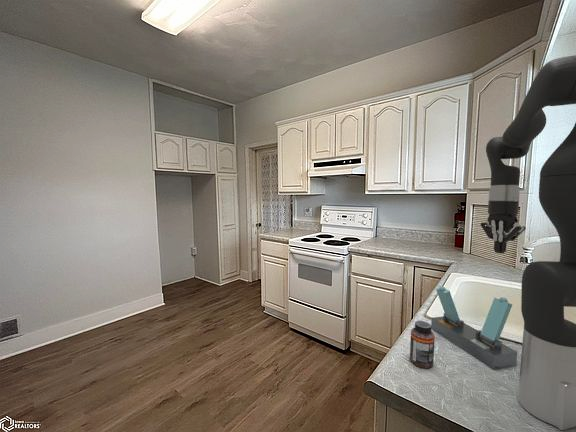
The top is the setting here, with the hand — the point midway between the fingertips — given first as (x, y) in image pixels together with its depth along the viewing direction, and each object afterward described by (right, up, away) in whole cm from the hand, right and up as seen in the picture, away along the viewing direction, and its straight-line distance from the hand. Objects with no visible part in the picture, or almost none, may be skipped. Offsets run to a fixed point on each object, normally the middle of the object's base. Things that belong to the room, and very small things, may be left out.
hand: (499, 252), depth 84 cm
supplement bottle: (-31, -30, -11) cm, 44 cm away
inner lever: (-10, -24, -9) cm, 28 cm away
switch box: (-12, -29, -2) cm, 31 cm away
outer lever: (-13, -23, +3) cm, 27 cm away
